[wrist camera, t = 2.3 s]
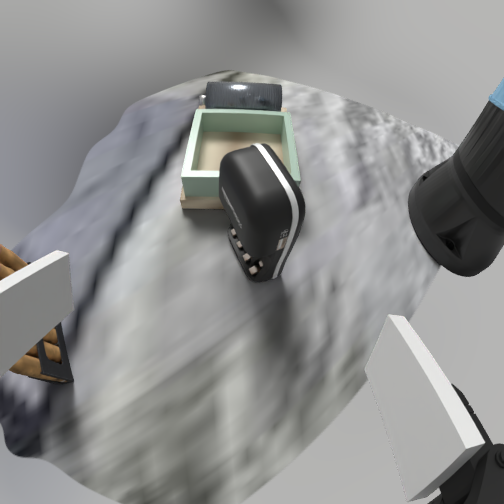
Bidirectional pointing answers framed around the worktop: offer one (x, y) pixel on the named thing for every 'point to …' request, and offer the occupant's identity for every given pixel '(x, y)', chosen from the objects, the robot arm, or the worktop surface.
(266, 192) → the battery charger
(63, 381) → the ammunition clip
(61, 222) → the worktop surface
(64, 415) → the worktop surface
